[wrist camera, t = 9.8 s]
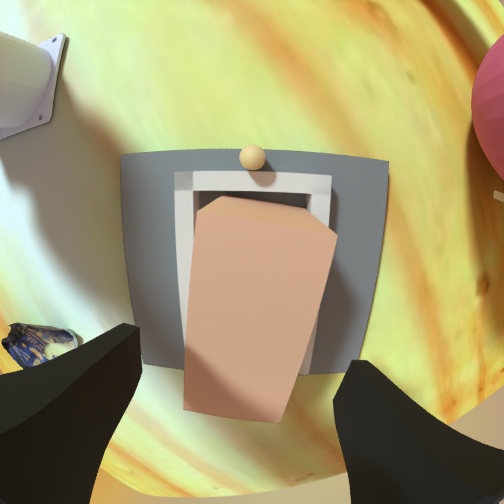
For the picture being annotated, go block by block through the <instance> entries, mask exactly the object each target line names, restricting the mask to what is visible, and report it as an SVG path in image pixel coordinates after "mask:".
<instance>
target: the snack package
mask: <svg viewBox="0 0 504 504" xmlns="http://www.w3.org/2000/svg"><path fill="white" fill-rule="evenodd" d="M9 326H11V331H10V333H9V334H8V337H7V338H4V339H2V342H1V343H2V345H3V347H4V349H6V350H7V352H8V353H9V354H10V355H11V357H12V358H13V359H14V360H15V361H16V362H17V363H18V364H19V366H21V367H22V368H23V369H26V368H29V367H32V366H35V365H38V364H41V363H44V362H46V361H49V360H48V359H47V358H46V357H44V356H43V350H44V349H43V348H44V347H46V346H47V345H48V344H50V343H56V342H58V343H59V342H60V343H64V342H67V343H68V342H70V341H73V342H74V346H75V348H77V346H78V341H77V338H76V336H75V334H74V331H73V330H69V329H59V328H55V327H52V326H41V325H30V324H23V323H14V324H11V325H9ZM56 357H58V356H56V355H53V356H52V359H53V358H56Z"/></svg>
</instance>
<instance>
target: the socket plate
mask: <svg viewBox="0 0 504 504" xmlns="http://www.w3.org/2000/svg"><path fill="white" fill-rule="evenodd" d="M388 171H389V161H384V160H377V159H370V158H363V157H355V156H346V155H337V154H327V153H316V152H303V151H288V150H266V149H262V148H261V147H259V146H257V145H248V146H246V147H244V148H243V149H194V150H172V151H156V152H144V153H133V154H123V155H121V207H122V225H123V238H124V249H125V259H126V267H127V275H128V283H129V290H130V297H131V303H132V309H133V315H134V320H135V326H138V327H140V343H141V354H142V359H143V363H144V364H147V365H154V366H160V367H168V368H176V369H184V366H185V343H186V325H187V310H188V297H189V284H190V273H191V262H192V252H193V243H194V234H195V225H196V217H197V211H199V210H200V209H202V208H203V207H205V206H206V205H208V204H210V203H211V202H213V201H214V200H216V199H217V198H219V197H220V196H222V195H224V194H228V195H234V196H241V197H247V198H253V199H259V200H265V201H271V202H276V203H282V204H288V205H293V206H298V207H304V208H305V209H306V210H308V211H309V212H310V213H311V214H313V215H314V216H315V217H316V218H318V219H319V220H320V221H321V222H322V223H324V224H325V225H326V226H327V227H328V228H330V229H331V230H332V231H333V232H334V233H336V234H337V235H338V237H337V242H336V246H335V250H334V254H333V258H332V262H331V266H330V270H329V274H328V278H327V281H326V285H325V289H324V292H323V296H322V300H321V303H320V307H319V310H318V313H317V317H316V320H315V323H314V327H313V330H312V333H311V336H310V339H309V343H308V346H307V349H306V352H305V355H304V358H303V361H302V364H301V367H300V370H299V372H298V375H309V374H329V373H344V372H347V369H348V367H349V365H350V363H351V360H358V357H359V354H360V350H361V346H362V343H363V339H364V335H365V331H366V326H367V322H368V318H369V313H370V309H371V304H372V299H373V294H374V289H375V284H376V278H377V273H378V267H379V260H380V254H381V247H382V239H383V231H384V223H385V213H386V202H387V189H388Z"/></svg>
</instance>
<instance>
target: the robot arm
mask: <svg viewBox="0 0 504 504" xmlns="http://www.w3.org/2000/svg"><path fill="white" fill-rule="evenodd" d="M65 38H66V35H65V34H63V33H61V34H58V35H56V36H54V37H52V38H50V39H48V40H46V41H44V42H42V43H40V44H38V45H34V44H32V43H29V42H27V41H24V40H22V39H19V38H17V37H14V36H11V35H9V34H6V33H3V32H0V140H1V139H4V138H6V137H8V136H11V135H13V134H16V133H19V132H21V131H24V130H27V129H29V128H32V127H35V126H38V125H41V124H44V123H47V122H49V120H50V119H51V116H52V108H53V100H54V92H55V86H56V80H57V74H58V69H59V64H60V59H61V54H62V50H63V46H64V42H65ZM42 116H43V117H42ZM41 118H42V119H41ZM141 374H142V360H141V343H140V327H138V326H134V325H130V324H126V323H122V324H120V325H118V326H116V327H114V328H112V329H111V330H109V331H107V332H105V333H103V334H102V335H100V336H98V337H96V338H94V339H92V340H90V341H88V342H87V343H85V344H83V345H81V346H79V347H77V348H75V349H73V350H71V351H69V352H66V353H64V354H62V355H60V356H58V357H56V358H53V359H51V360H49V361H46V362H44V363H41V364H38V365H35V366H32V367H29V368H26V369H23V370H19V371H15V372H11V373H6V374H2V375H0V504H89V502H90V498H91V494H92V490H93V486H94V483H95V480H96V476H97V473H98V469H99V467H100V464H101V461H102V458H103V455H104V452H105V450H106V448H107V445H108V443H109V441H110V439H111V437H112V435H113V433H114V431H115V429H116V428H117V426H118V424H119V422H120V420H121V418H122V416H123V414H124V413H125V411H126V409H127V407H128V405H129V403H130V401H131V399H132V398H133V396H134V393H135V391H136V388H137V385H138V383H139V380H140V377H141ZM333 408H334V417H335V425H336V429H337V433H338V437H339V441H340V445H341V449H342V453H343V457H344V461H345V465H346V469H347V473H348V478H349V484H350V495H351V504H499V502H500V501H501V500H503V499H504V450H501V449H497V448H495V447H492V446H489V445H486V444H483V443H481V442H478V441H476V440H473V439H472V438H470V437H467V436H466V435H463V434H461V433H459V432H458V431H456V430H454V429H452V428H451V427H449V426H448V425H446V424H445V423H443V422H441V421H440V420H438V419H437V418H435V417H434V416H433V415H431V414H430V413H429V412H427V411H426V410H425V409H423V408H422V407H421V406H420V405H418V404H417V403H416V402H415V401H413V400H412V399H411V398H410V397H409V396H408V395H406V394H405V393H404V392H403V391H402V390H401V389H400V388H398V387H397V386H396V385H395V384H394V383H393V382H392V381H391V380H390V379H388V378H387V377H386V376H385V375H384V374H383V373H382V372H381V371H379V370H378V369H377V368H376V367H375V366H374V365H372V364H371V363H370V362H369V361H367V360H351V363H350V365H349V367H348V369H347V372H346V374H345V376H344V378H343V380H342V382H341V384H340V386H339V389H338V391H337V393H336V395H335V397H334V399H333Z"/></svg>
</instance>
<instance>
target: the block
mask: <svg viewBox="0 0 504 504" xmlns="http://www.w3.org/2000/svg"><path fill="white" fill-rule="evenodd" d="M337 237H338V235H337V234H336V233H334V232H333V231H332V230H331V229H330V228H328V227H327V226H326V225H325V224H324V223H322V222H321V221H320V220H319V219H318V218H316V217H315V216H314V215H313V214H311V213H310V212H309V211H308V210H306V209H305V208H304V207H298V206H293V205H288V204H282V203H276V202H271V201H265V200H259V199H253V198H247V197H241V196H234V195H228V194H224V195H222V196H220V197H219V198H217V199H216V200H214V201H213V202H211V203H210V204H208V205H206V206H205V207H203V208H202V209H200V210H199V211H197V217H196V225H195V234H194V243H193V252H192V262H191V273H190V284H189V297H188V310H187V325H186V343H185V366H184V410H188V411H193V412H198V413H203V414H209V415H215V416H221V417H227V418H234V419H242V420H250V421H259V422H270V423H280V421H281V418H282V416H283V413H284V411H285V408H286V405H287V403H288V400H289V397H290V395H291V392H292V389H293V387H294V384H295V381H296V378H297V375H298V372H299V370H300V367H301V364H302V361H303V358H304V355H305V352H306V349H307V346H308V343H309V339H310V336H311V333H312V330H313V327H314V323H315V320H316V317H317V313H318V310H319V307H320V303H321V300H322V296H323V292H324V289H325V285H326V281H327V278H328V274H329V270H330V266H331V262H332V258H333V254H334V250H335V246H336V242H337Z"/></svg>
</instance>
